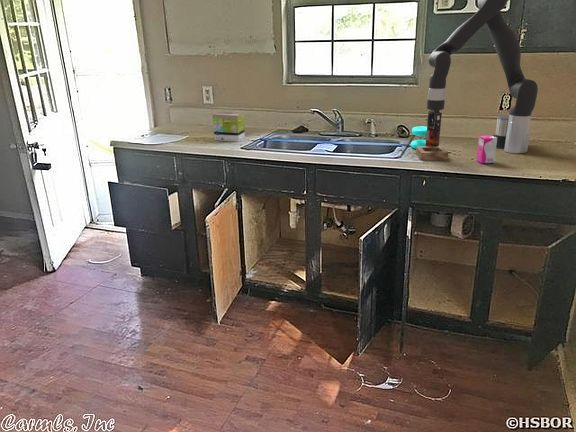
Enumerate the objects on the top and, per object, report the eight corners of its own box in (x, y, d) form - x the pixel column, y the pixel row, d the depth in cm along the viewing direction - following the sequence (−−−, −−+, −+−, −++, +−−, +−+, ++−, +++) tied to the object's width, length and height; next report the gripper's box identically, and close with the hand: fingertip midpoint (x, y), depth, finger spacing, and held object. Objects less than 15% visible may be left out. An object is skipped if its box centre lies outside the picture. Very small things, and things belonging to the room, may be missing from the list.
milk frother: (510, 150, 228) (514, 119, 223) (476, 146, 238) (480, 116, 232) (517, 144, 239) (522, 114, 233) (485, 140, 248) (489, 112, 242)
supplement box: (488, 160, 212) (491, 135, 208) (494, 163, 207) (498, 138, 202) (475, 160, 212) (478, 135, 208) (481, 164, 206) (484, 138, 202)
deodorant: (422, 145, 219) (425, 113, 214) (430, 143, 223) (432, 111, 217) (434, 147, 215) (437, 114, 209) (441, 145, 218) (444, 112, 213)
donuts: (426, 125, 239) (436, 129, 231) (424, 144, 243) (435, 149, 234) (408, 126, 237) (418, 130, 228) (406, 146, 241) (417, 150, 232)
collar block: (440, 153, 226) (441, 146, 225) (447, 159, 215) (448, 152, 213) (415, 153, 227) (416, 146, 225) (420, 160, 215) (421, 152, 214)
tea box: (214, 141, 265) (211, 114, 260) (221, 137, 274) (219, 111, 269) (238, 142, 261) (237, 115, 255) (245, 138, 270) (244, 112, 264)
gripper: (449, 100, 204) (445, 139, 210) (440, 96, 217) (437, 132, 224) (431, 100, 204) (428, 139, 211) (424, 96, 218) (421, 132, 224)
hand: (433, 135), depth 217 cm, fingers closed on deodorant, 6 cm apart
